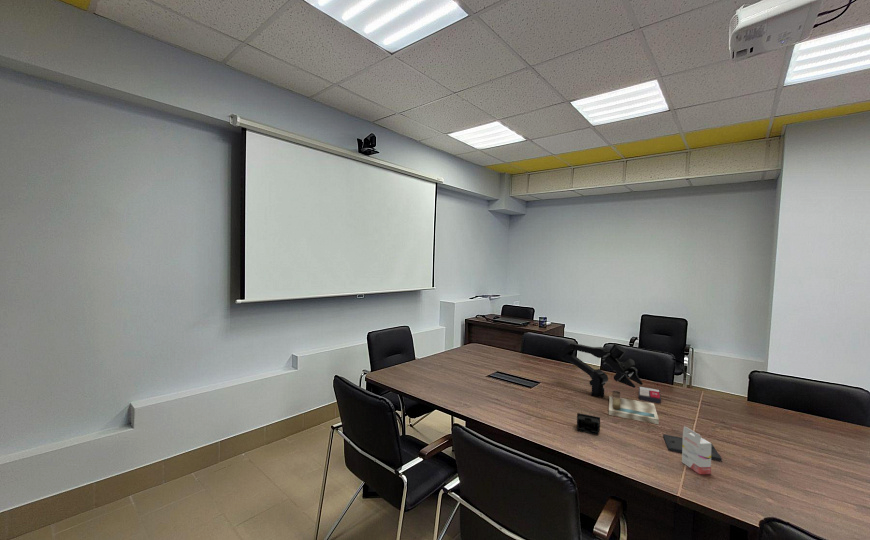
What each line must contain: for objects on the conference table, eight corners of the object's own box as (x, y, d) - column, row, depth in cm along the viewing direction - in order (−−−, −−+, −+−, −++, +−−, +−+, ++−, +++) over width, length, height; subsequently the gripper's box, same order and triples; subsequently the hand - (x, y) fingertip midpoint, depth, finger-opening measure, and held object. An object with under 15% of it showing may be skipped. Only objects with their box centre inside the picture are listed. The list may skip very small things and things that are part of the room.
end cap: (599, 429, 163) (600, 415, 163) (599, 435, 156) (600, 421, 156) (577, 424, 167) (577, 411, 167) (576, 430, 161) (576, 416, 161)
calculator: (638, 394, 201) (638, 385, 214) (638, 401, 201) (638, 392, 214) (661, 398, 195) (659, 389, 208) (660, 405, 195) (659, 396, 208)
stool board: (608, 414, 179) (608, 409, 179) (609, 400, 199) (609, 395, 199) (658, 424, 169) (658, 419, 169) (653, 408, 189) (653, 403, 189)
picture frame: (711, 447, 149) (663, 438, 156) (711, 442, 149) (663, 433, 156) (721, 463, 137) (668, 452, 144) (721, 457, 137) (668, 446, 144)
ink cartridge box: (711, 474, 128) (712, 435, 128) (699, 475, 128) (700, 435, 127) (692, 461, 136) (693, 425, 136) (681, 461, 136) (682, 425, 136)
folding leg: (620, 410, 178) (620, 401, 178) (612, 408, 180) (612, 400, 180) (619, 398, 195) (620, 390, 195) (612, 397, 197) (612, 389, 197)
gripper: (615, 356, 189) (640, 378, 179) (630, 352, 201) (655, 373, 190) (603, 370, 194) (627, 392, 184) (619, 366, 205) (642, 386, 195)
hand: (638, 385), depth 188 cm, fingers open, 9 cm apart
